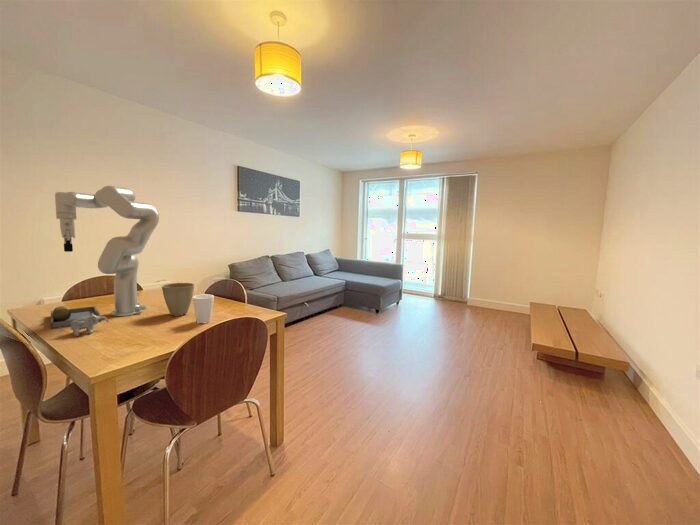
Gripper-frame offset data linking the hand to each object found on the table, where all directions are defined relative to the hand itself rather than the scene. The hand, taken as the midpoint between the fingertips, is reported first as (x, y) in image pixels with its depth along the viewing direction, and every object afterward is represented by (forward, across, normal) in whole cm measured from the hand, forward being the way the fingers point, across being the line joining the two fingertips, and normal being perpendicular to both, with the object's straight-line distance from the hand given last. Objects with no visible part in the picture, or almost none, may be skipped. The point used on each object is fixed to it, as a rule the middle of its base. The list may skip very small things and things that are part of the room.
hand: (68, 251), depth 152 cm
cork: (+28, -26, +4) cm, 38 cm away
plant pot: (+31, -43, -40) cm, 66 cm away
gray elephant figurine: (+31, -49, -4) cm, 58 cm away
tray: (+31, -23, 0) cm, 39 cm away
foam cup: (+31, -63, -46) cm, 84 cm away
